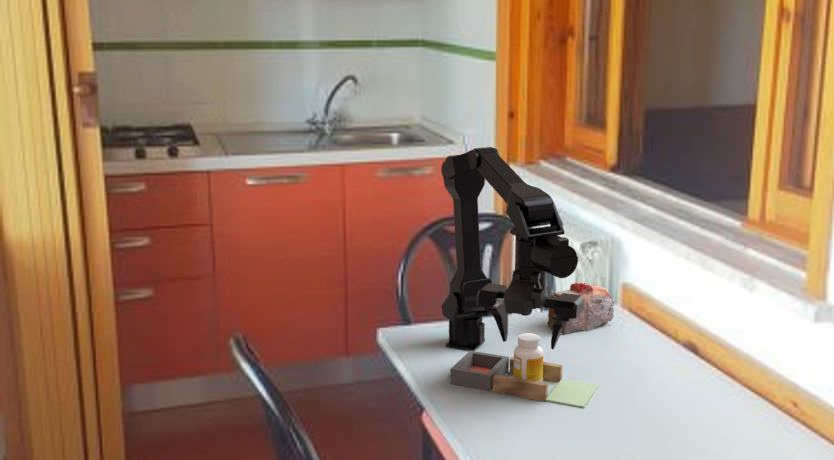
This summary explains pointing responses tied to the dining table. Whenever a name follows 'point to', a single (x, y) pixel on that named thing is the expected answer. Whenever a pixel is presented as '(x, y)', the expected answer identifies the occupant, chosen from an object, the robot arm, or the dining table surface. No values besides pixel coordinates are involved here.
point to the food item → (587, 308)
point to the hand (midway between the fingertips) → (528, 344)
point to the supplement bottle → (528, 358)
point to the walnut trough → (527, 383)
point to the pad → (572, 393)
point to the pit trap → (478, 370)
